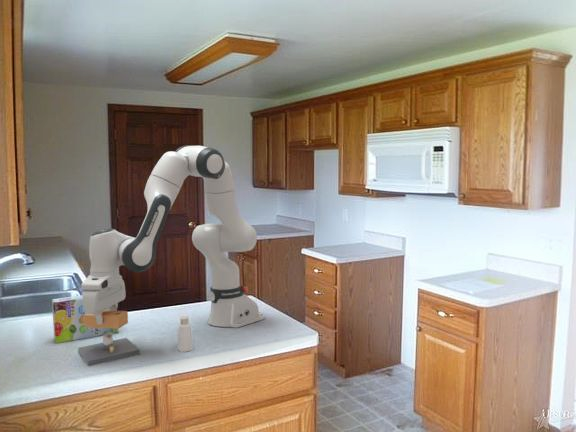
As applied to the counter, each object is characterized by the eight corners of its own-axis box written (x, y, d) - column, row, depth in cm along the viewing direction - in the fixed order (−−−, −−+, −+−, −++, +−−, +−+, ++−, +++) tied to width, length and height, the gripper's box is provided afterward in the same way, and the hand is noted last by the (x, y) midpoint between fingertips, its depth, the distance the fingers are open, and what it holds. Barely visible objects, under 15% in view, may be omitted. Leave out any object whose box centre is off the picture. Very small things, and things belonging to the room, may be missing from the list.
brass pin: (113, 355, 159) (112, 345, 159) (114, 356, 158) (113, 346, 158) (109, 356, 159) (109, 346, 158) (110, 357, 158) (110, 347, 157)
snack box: (115, 329, 186) (113, 290, 185) (118, 333, 181) (116, 293, 180) (54, 339, 176) (51, 298, 174) (55, 344, 171) (52, 302, 169)
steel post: (112, 350, 164) (111, 331, 163) (114, 353, 161) (113, 334, 161) (102, 352, 162) (101, 333, 161) (105, 355, 160) (104, 336, 159)
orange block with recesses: (84, 327, 158) (83, 315, 158) (95, 321, 164) (94, 310, 164) (118, 328, 156) (118, 316, 156) (128, 323, 162) (127, 311, 162)
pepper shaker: (194, 345, 167) (193, 314, 166) (193, 351, 162) (192, 319, 161) (177, 346, 167) (176, 315, 166) (176, 352, 161) (175, 320, 160)
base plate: (126, 341, 172) (126, 337, 172) (139, 354, 161) (139, 349, 160) (78, 352, 163) (78, 347, 163) (88, 365, 151) (88, 361, 151)
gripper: (112, 272, 170) (114, 311, 171) (77, 285, 150) (80, 329, 151) (129, 272, 169) (130, 311, 170) (96, 286, 148) (98, 330, 150)
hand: (106, 320), depth 160 cm, fingers closed on orange block with recesses, 6 cm apart
